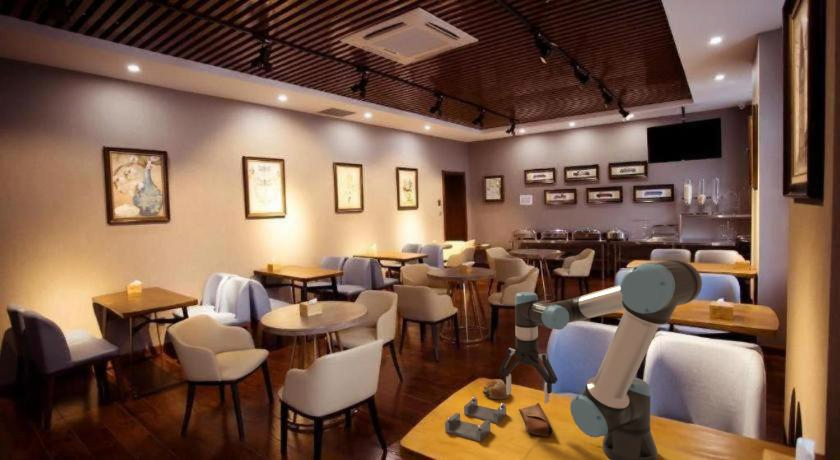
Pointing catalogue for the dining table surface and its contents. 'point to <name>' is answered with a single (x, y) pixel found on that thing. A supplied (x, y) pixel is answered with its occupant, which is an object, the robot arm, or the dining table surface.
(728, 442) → the dining table surface
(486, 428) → the bent steel plates
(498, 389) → the bread roll
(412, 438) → the dining table surface
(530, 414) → the sunglasses case
